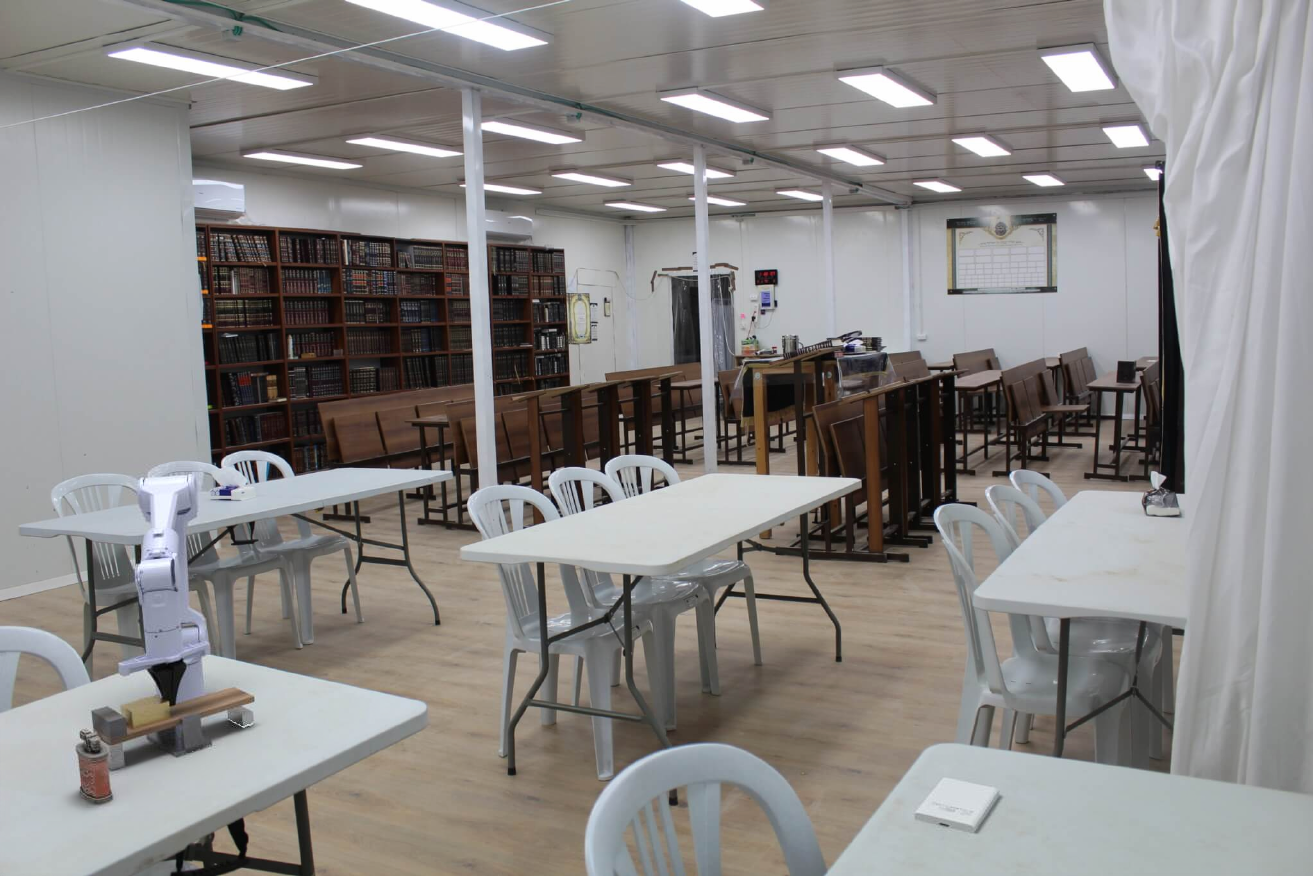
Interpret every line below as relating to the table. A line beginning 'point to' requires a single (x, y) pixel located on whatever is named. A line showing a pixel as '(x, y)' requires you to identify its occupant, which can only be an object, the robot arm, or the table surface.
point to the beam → (116, 730)
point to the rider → (145, 711)
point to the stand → (179, 736)
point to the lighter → (93, 768)
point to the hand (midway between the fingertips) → (169, 704)
